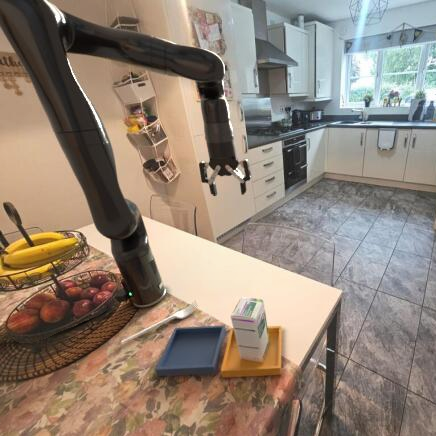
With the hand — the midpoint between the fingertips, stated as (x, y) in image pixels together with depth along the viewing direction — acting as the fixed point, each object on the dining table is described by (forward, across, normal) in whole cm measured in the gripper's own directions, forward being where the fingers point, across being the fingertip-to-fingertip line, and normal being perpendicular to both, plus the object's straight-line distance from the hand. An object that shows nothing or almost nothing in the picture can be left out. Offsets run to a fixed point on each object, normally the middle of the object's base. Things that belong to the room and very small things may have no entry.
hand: (229, 194), depth 74 cm
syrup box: (+30, -8, +31) cm, 44 cm away
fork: (+30, +19, +21) cm, 41 cm away
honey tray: (+30, -8, +31) cm, 44 cm away
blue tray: (+30, +7, +30) cm, 43 cm away
